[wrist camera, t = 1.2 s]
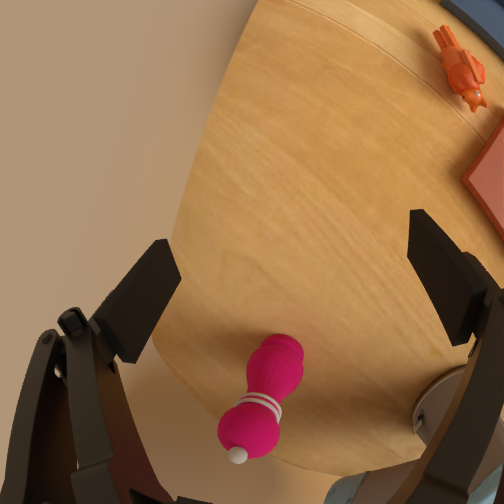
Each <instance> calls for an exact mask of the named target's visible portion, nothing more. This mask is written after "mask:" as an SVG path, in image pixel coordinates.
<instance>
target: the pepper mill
mask: <svg viewBox="0 0 504 504" xmlns="http://www.w3.org/2000/svg"><path fill="white" fill-rule="evenodd" d="M303 355H304V353H303V349H302V347H301V345H300V344H299V343H298V342H297V341H296V340H295V339H293V338H292V337H290V336H287V335H273V336H270V337H268V338H267V339H266V340H264V342H263V343H262V345H261V347H260V348H259V349H257V350H256V351H255V352H254V353H253V354H252V355H251V357H250V359H249V362H248V364H247V371H246V377H247V383H248V390H247V393H246V394H243V395H242V396H240V397H239V398H238V399H237V401H236V403H235V405H234V407H233V408H231V409H230V410H228V411H227V412H226V413H224V415H223V416H222V418H221V419H220V422H219V424H218V437H219V440H220V442H221V444H222V445H223V447H224V448H226V450H228V459H229V460H230V461H231V462H232V463H235V464H241V463H243V462H245V460H246V459H247V458H258V457H261V456H264V455H266V454H267V453H269V452H270V451H271V450H272V449H273V448H274V447H275V446H276V444H277V442H278V439H279V435H280V429H279V425H278V423H279V421H280V418H281V414H282V411H281V407H280V403H281V401H282V399H283V398H285V397H286V396H288V395H289V394H290V393H292V392H293V391H294V390H295V389H296V387H297V386H298V385H299V383H300V381H301V379H302V376H303V364H302V361H303Z"/></svg>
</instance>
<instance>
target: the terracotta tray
mask: <svg viewBox="0 0 504 504" xmlns="http://www.w3.org/2000/svg"><path fill="white" fill-rule="evenodd" d="M460 180H461V181H462V183H463V184H464V185H465V186H466V188H467V189H468V190H469V192H470V193H471V194H472V196H473V197H474V198H475V200H476V201H477V202H478V204H479V205H480V207H481V208H482V209H483V211H484V212H485V214H486V215H487V217H488V218H489V220H490V221H491V223H492V224H493V226H494V227H495V229H496V230H497V232H498V233H499V235H500V237H501V238H502V240H503V242H504V116H503V118H502V120H501V121H500V123H499V125H498V126H497V128H496V129H495V131H494V132H493V134H492V135H491V137H490V138H489V140H488V141H487V143H486V144H485V146H484V147H483V149H482V150H481V152H480V153H479V154H478V156H477V157H476V159H475V160H474V161H473V163H472V164H471V166H470V167H469V168H468V170H467V171H466V172H465V174H464V175H463V176H462V178H461V179H460Z"/></svg>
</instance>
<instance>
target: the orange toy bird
mask: <svg viewBox="0 0 504 504" xmlns="http://www.w3.org/2000/svg"><path fill="white" fill-rule="evenodd" d="M440 30H441V31H438V30H435V31H434V32H433V35H434V37H435V39H436V41H437V42H438V44H439V46H440V48H441V50H442V51H441V55H442V57H443V60H444V62H442V65H443V67H444V69H445V72H446V74H447V76H448V83H449V85H450V86H451V88H452V89H453V91H454V92H456V93H457V94H459V95H461V96H462V100H463V101H464V102H467V103H468V104H469V105H470V109H471V111H472V112H473V113H475V112H476V109H477V106H479V105H481V106H483V107H487V108H488V107H489V105H488V104H487V102H486V101H485V99H484V97H483V95H482V92H481V90H480V88H479V84H484V82H485V70H484V67H483V65H482V64H480V63H479V62H478V61H477V60H476V59H475V58H474V57H473V56H471V55H470V53H469V51H467V50H464V49H463V50H462V48H461V47H460V46H459V44H458V42H457V41H456V39H455V37H454V35H453V33H452V32H451V30H450V28H449V26H445V25H442V26H441V27H440Z"/></svg>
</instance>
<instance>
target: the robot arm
mask: <svg viewBox="0 0 504 504" xmlns="http://www.w3.org/2000/svg"><path fill="white" fill-rule="evenodd" d="M407 257H408V259H409V261H410V263H411V264H412V266H413V268H414V270H415V271H416V273H417V275H418V277H419V279H420V280H421V282H422V284H423V286H424V288H425V290H426V292H427V293H428V295H429V297H430V299H431V301H432V303H433V305H434V307H435V309H436V311H437V313H438V315H439V318H440V320H441V322H442V324H443V326H444V328H445V330H446V333H447V335H448V337H449V339H450V342H451V344H452V346H457V345H461V344H465V343H468V341H469V339H470V337H471V334H472V332H473V333H474V335H475V337H476V341H475V343H474V345H473V347H472V349H471V351H470V353H469V355H468V358H469V359H468V362H467V365H466V366H461V367H458V368H455V369H453V370H451V371H449V372H447V373H445V374H443V375H442V376H440V377H439V378H437V379H436V380H435V381H433V382H432V383H431V384H430V385H429V386H428V387H427V388H426V389H425V390H424V391H423V392H422V394H421V395H420V396H419V398H418V399H417V401H416V403H415V405H414V407H413V411H412V421H413V426H414V427H413V434H414V433H415V432H416V433H417V434H418V436H419V437H420V438H421V440H422V441H423V442H424V443H425V445H426V446H427V448H426V449H425V451H424V452H423V454H422V456H421V457H420V459H416V460H413V461H410V462H406V463H403V464H399V465H395V466H391V467H387V468H383V469H379V470H374V471H365V472H364V473H361V474H356V475H352V476H347V477H343V478H340V479H339V480H337V481H336V482H335V483H334V484H333V485H332V486H331V488H330V490H329V491H328V493H327V496H326V498H325V501H324V504H504V422H503V420H502V418H501V416H500V413H501V410H502V407H503V404H504V288H503V289H501V288H500V287H499V286H498V284H497V283H496V282H495V280H494V279H493V278H492V276H491V275H490V274H489V273H488V271H486V269H485V268H484V266H483V265H482V264H481V263H480V262H479V260H478V259H477V258H476V257H475V256H473V255H472V254H470V253H469V252H461V250H460V249H459V248H458V247H457V246H456V245H455V243H454V242H453V241H452V240H451V239H450V238H449V237H448V235H447V234H446V233H445V232H444V231H443V230H442V229H441V228H440V227H439V226H438V224H437V223H436V222H435V221H434V220H433V219H432V218H431V217H430V216H429V215H428V214H427V213H426V212H425V211H424V210H423V209H417V210H410V222H409V239H408V252H407ZM181 279H182V278H181V276H180V273H179V270H178V268H177V265H176V263H175V260H174V257H173V254H172V252H171V249H170V246H169V244H168V241H167V239H160V240H155V241H154V243H153V244H152V245H151V246H150V247H149V248H148V250H147V251H146V252H145V253H144V254H143V255H142V257H141V258H140V259H139V260H138V261H137V263H136V264H135V265H134V266H133V267H132V268H131V270H130V271H129V272H128V273H127V275H126V276H125V277H124V278H123V279H122V281H121V282H120V283H119V284H118V286H117V287H116V288H115V289H114V290H113V291H111V292H110V293H109V295H108V296H107V297H106V299H105V300H104V301H103V302H102V304H101V306H99V308H98V309H97V310H96V311H95V313H94V314H93V315H92V317H91V318H90V319H89V321H87V319H86V318H85V316H84V314H83V313H82V311H81V310H80V308H78V307H73V308H70V309H68V310H67V311H65V312H64V313H63V314H61V316H60V317H59V318H58V321H57V323H58V324H59V326H60V327H61V329H62V330H63V332H64V333H65V336H60V335H59V334H58V333H57V331H56V330H55V329H49V330H46V331H45V332H43V333H42V335H41V336H40V337H39V339H38V341H37V343H36V346H35V349H34V352H33V354H32V357H31V360H30V363H29V366H28V369H27V373H26V375H25V379H24V382H23V385H22V389H21V392H20V396H19V400H18V404H17V408H16V412H15V416H14V421H13V425H12V430H11V436H10V442H9V448H8V454H7V462H6V471H5V480H4V483H3V486H2V489H1V493H0V504H212V503H208V502H203V501H198V500H193V499H189V498H185V497H180V496H178V498H177V501H173V499H172V498H171V496H170V495H169V494H168V492H167V491H166V490H165V489H164V488H163V487H162V486H161V485H160V483H159V481H158V480H157V477H156V475H155V473H154V471H153V468H152V466H151V464H150V462H149V459H148V457H147V454H146V452H145V449H144V447H143V444H142V442H141V439H140V437H139V434H138V431H137V428H136V426H135V423H134V420H133V417H132V414H131V411H130V408H129V405H128V402H127V399H126V395H125V392H124V389H123V385H122V382H121V378H120V374H119V370H118V366H117V364H116V362H115V360H114V357H115V355H116V353H117V355H118V356H119V358H120V359H121V360H122V362H126V363H133V364H136V362H137V360H138V358H139V356H140V354H141V352H142V350H143V348H144V346H145V345H146V342H147V341H148V339H149V337H150V335H151V333H152V331H153V330H154V328H155V326H156V324H157V322H158V320H159V319H160V317H161V315H162V313H163V311H164V309H165V308H166V306H167V304H168V302H169V300H170V299H171V297H172V295H173V293H174V292H175V290H176V288H177V286H178V285H179V283H180V281H181ZM55 368H56V369H57V370H58V372H59V373H60V377H57V376H56V375H55ZM77 460H78V464H79V468H78V470H77Z"/></svg>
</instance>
